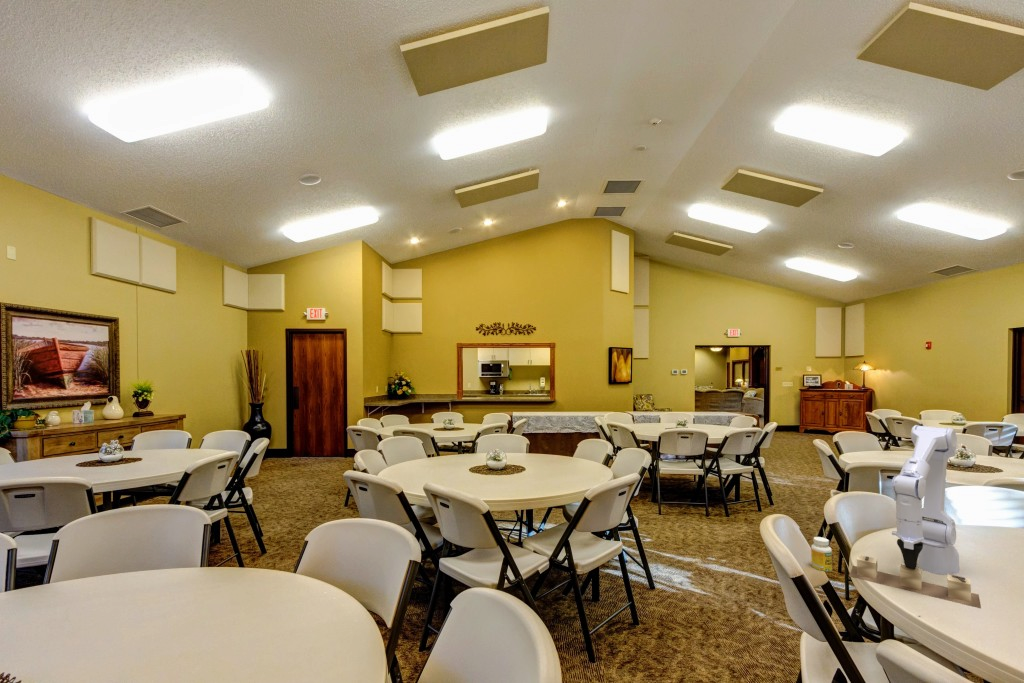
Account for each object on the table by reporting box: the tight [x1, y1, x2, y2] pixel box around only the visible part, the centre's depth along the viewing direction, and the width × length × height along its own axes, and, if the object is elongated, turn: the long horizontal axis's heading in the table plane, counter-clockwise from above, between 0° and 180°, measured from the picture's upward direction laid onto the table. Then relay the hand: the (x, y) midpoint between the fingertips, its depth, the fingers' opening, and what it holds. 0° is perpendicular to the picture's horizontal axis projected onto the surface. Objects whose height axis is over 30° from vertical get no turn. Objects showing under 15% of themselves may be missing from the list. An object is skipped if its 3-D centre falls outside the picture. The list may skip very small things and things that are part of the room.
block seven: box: [946, 574, 972, 602], centre depth 130 cm, size 4×4×5 cm
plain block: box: [899, 563, 923, 590], centre depth 137 cm, size 4×4×4 cm
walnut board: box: [848, 565, 982, 609], centre depth 137 cm, size 28×10×1 cm, turn 49°
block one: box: [856, 554, 878, 579], centre depth 143 cm, size 4×4×5 cm
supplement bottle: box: [810, 536, 833, 572], centre depth 148 cm, size 5×5×10 cm
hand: (910, 567), depth 137 cm, fingers closed
